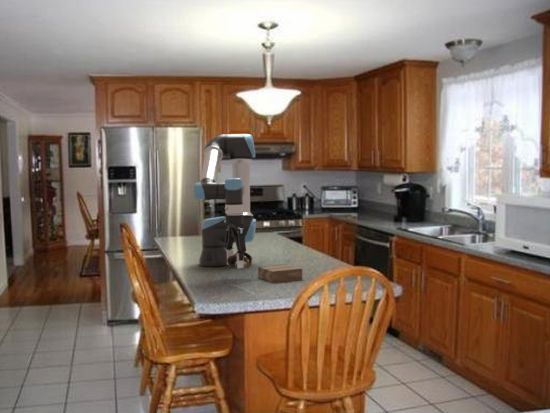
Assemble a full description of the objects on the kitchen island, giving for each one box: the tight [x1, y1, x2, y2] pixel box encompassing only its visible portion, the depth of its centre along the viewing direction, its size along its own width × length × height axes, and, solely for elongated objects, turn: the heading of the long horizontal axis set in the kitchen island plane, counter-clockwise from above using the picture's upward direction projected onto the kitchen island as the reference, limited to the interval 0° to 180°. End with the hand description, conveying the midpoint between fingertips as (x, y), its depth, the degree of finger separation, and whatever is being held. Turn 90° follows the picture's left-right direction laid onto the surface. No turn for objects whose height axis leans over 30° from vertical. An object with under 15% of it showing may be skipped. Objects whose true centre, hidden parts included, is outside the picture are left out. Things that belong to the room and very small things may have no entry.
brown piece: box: [227, 251, 253, 270], centre depth 241 cm, size 12×9×8 cm
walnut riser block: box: [257, 264, 303, 284], centre depth 242 cm, size 14×14×5 cm
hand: (235, 266), depth 242 cm, fingers closed on brown piece, 9 cm apart
